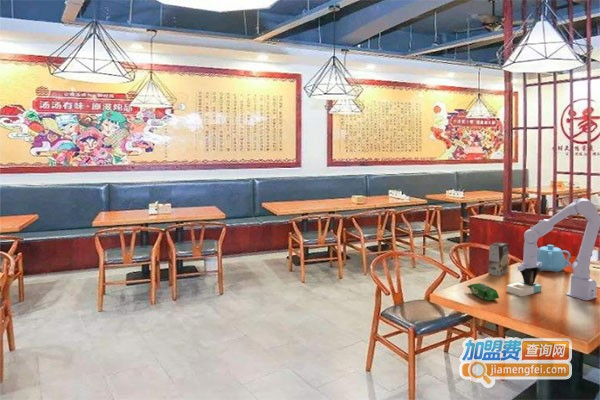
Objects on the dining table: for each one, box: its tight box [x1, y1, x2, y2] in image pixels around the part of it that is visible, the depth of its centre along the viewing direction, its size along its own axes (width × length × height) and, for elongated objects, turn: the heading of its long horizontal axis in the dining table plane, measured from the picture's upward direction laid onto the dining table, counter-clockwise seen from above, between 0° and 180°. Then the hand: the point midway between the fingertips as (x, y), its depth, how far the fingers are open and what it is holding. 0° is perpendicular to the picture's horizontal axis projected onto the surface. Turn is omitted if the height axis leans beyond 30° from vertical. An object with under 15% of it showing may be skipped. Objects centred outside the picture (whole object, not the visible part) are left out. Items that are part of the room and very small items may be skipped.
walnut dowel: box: [526, 270, 533, 286], centre depth 211 cm, size 3×3×9 cm
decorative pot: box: [537, 244, 572, 273], centre depth 242 cm, size 16×16×14 cm
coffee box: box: [488, 241, 510, 277], centre depth 238 cm, size 9×6×16 cm
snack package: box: [466, 282, 500, 301], centre depth 205 cm, size 7×16×5 cm, turn 12°
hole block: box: [506, 280, 542, 297], centre depth 210 cm, size 8×14×3 cm, turn 117°
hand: (529, 283), depth 211 cm, fingers closed on walnut dowel, 3 cm apart
